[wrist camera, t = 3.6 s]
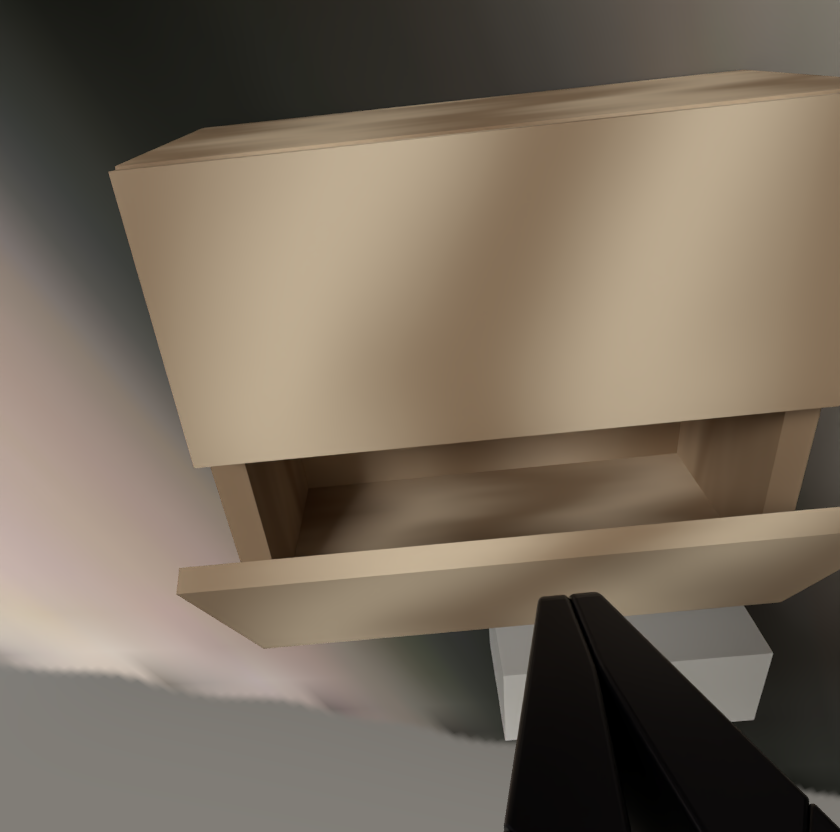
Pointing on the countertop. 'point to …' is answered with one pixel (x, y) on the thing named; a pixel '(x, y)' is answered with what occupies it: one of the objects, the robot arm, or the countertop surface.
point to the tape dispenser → (679, 642)
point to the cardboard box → (519, 456)
